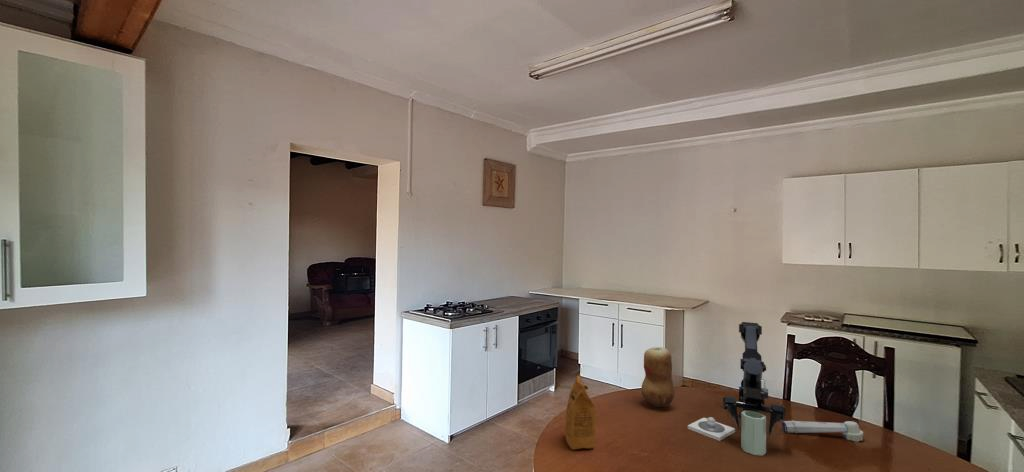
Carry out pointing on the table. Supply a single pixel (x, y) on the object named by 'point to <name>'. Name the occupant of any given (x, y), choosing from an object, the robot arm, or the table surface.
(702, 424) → the post board
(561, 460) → the table surface
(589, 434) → the coffee package
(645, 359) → the butternut squash
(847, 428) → the toothbrush head
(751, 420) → the sleeve
